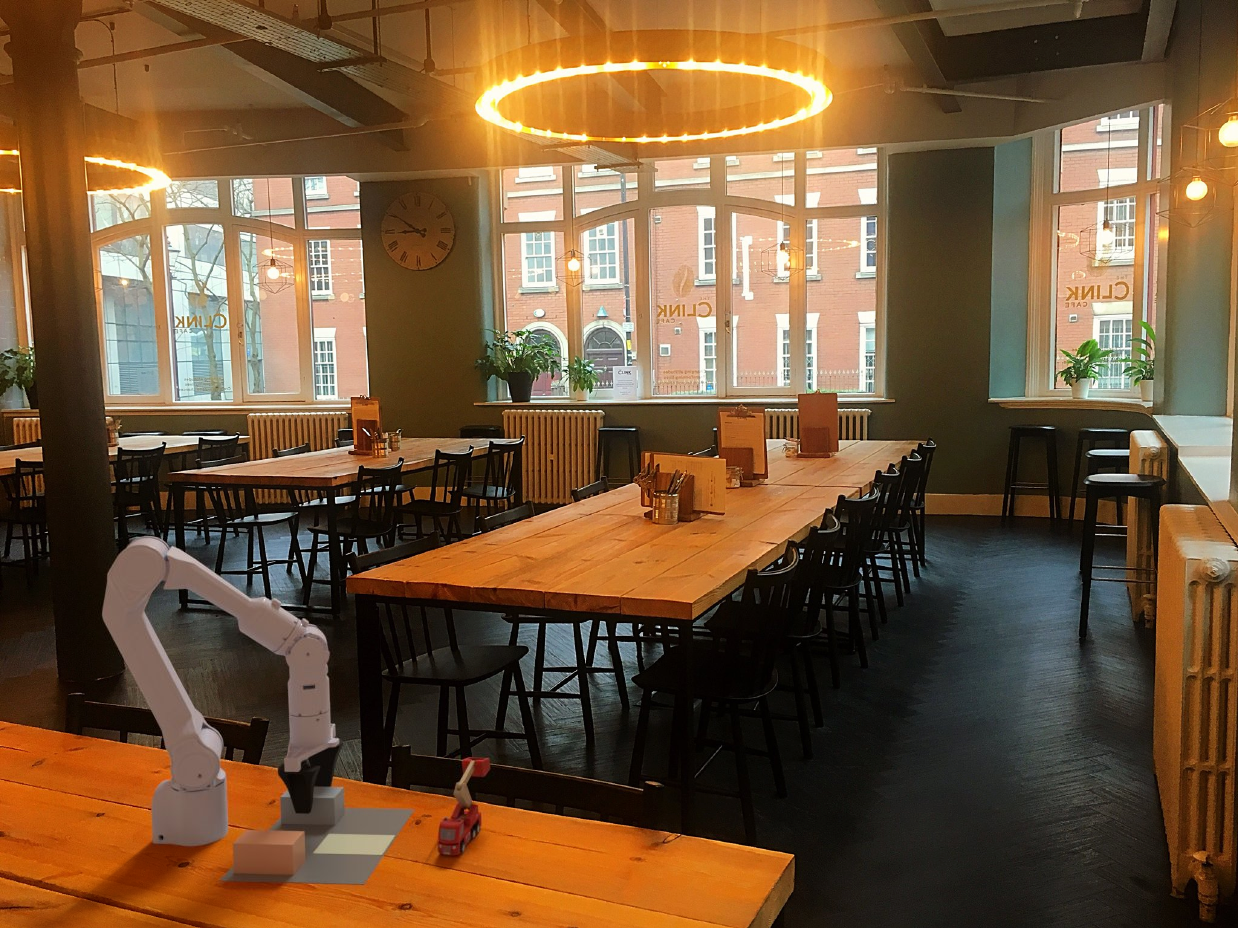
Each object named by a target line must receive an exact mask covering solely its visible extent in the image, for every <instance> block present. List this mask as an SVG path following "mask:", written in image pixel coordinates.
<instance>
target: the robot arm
mask: <svg viewBox="0 0 1238 928" xmlns="http://www.w3.org/2000/svg"><path fill="white" fill-rule="evenodd" d="M106 580H107V581H106V587H105V594H104V599H103V605H102V613H101V616H102V620H103V622H104V624H105V626H106V628H107V630H108V631H109V633H110V635H111V638H112V640H113V641H114V643H115V645H116V646H117V648H118V650H119V652H120V654H121V656H122V658H123V660H124V662H125V663H126V666H127V668H128V669H129V671H130V673H131V675H132V677H133V679H134V680H135V683H136V685H137V686H138V688H139V690H140V692H141V694H142V696H143V697H144V699H145V701H146V703H147V705H148V707H149V709H150V710H151V713H152V714H153V716H154V718H155V720H156V722H157V724H158V726H159V728H160V731H161V732H162V737H163V741H164V747H165V750H166V751H167V754H168V756H169V758H170V759H169V760H170V775H171V779H166V780H163V781H161V782H160V783H159V784H158V785H157V786H156V788H155V789H154V792H153V796H152V800H151V807H150V808H151V810H150V812H151V813H150V814H151V827H152V828H151V831H152V832H151V833H152V835H151V836H152V844H159V845H160V844H161V845H162V844H164V845H169V844H170V845H178V846H181V847H182V846H183V847H195V846H203V845H204V846H205V845H208V844H211V843H215V842H217V841H219V840H221V839H223V838H224V837H225V836H226V835H227V834H228V833H229V816H228V815H229V814H228V812H229V811H228V794H227V793H228V792H227V791H228V790H227V774H226V773H227V772H225V770H223V768H221V756H222V753H223V750H224V739H223V737H222V735H221V734H220V732H219V731H218V730H217V729H216V728H215V727H212V726H211V725H210V724H208V723H207V721H206V720H205V717H204V716H203V714H202V713H201V712H200V711H199V710H198V709H197V708H195V706H194V705H193V702H192V700H191V698H190V696H189V694H188V692H187V691H186V689H185V687H184V685H183V683H182V681H181V679H180V677H179V675H178V674H177V672H176V669H175V668H174V666H173V664H172V662H171V660H170V658H169V657H168V654H167V653H166V651H165V649H164V647H163V644H162V643H161V641H160V639H159V637H158V635H157V634H156V631H155V630H154V627H153V626H152V624H151V622H150V620H149V618H148V616H147V614H146V612H145V611H146V610H145V609H146V606H147V605H148V603H149V600H150V597H151V596H152V593H153V591H154V590H155V589H156V587H158V585H159V584H160V583H161V582H162V581H163V582H165V583H164V586H163V589H162V590H184V589H185V590H189V591H190V592H193V593H194V594H196V595H197V596H200V597H201V599H202V598H203V599H204V600H206V601H208V602H209V603H210V604H213V605H214V606H216V607H217V608H220V610H223V611H225V612H226V613H228V614H230V615H232V616H233V617H235V618H236V619H237V624H238V629H239V631H240V632H241V633H242V634H244V635H246V636H248V637H249V639H250V638H251V639H252V640H254V641H255V642H256V643H258V644H260V645H262V647H265V648H267V649H268V650H269V651H270V652H273V653H274V654H275V655H278V656H284V657H285V661H286V663H287V666H288V667H289V668H288V669H289V679H288V681H287V690H288V691H287V693H288V694H287V695H288V697H287V698H288V718H289V720H288V721H289V722H288V723H289V724H288V725H289V741H288V747H287V755H286V756H285V757H284V758H283V760H284V761H283V763H282V764H280V765H279V766H278V767H277V775H278V776H279V778H280V779H281V780H282V782H283V783H284V785H285V787H286V789H287V790H288V792H289V794H290V797H291V800H292V804H293V807H294V810H295V813H297V814H309V813H310V812H311V810H312V805H313V793H314V787H333V786H332V784H333V779H334V776H335V775H334V773H335V769H336V768H335V767H336V764H337V760H338V757H339V756H340V755H339V754H340V752H341V751H342V748H343V746H344V741H343V740H342V739H340V738H338V737H336V733H337V732H336V724H335V723H331V701H330V700H331V699H330V678H329V676H328V675H327V674H328V673H329V667H328V663H329V659H330V655H331V654H330V653H331V652H330V651H329V647H328V641H327V637H326V635H325V634H324V633H323V631H321V630H320V629H319V628H318V626H317V625H315V624H311V623H309V622H310V621H309V620H307V619H306V618H302V619H300V618H298V617H296V616H295V615H293V614H292V613H290V612H289V611H287V610H285V609H284V608H283V607H281V606H282V601H280V600H278V599H277V598H276V597H273V598H272V600H271V599H269V598H267V597H266V596H261V597H254V598H250V596H248V595H246V594H245V593H244V592H242V591H241V590H239V589H238V588H237V587H235V586H234V585H233V584H231V583H229V582H228V581H227V580H225V578H222V577H221V575H219V574H217V573H215V572H214V571H213V570H211V568H210V569H209V567H207V566H206V565H205V564H203V563H201V562H200V561H198V560H197V559H195V558H194V557H193V556H191V555H189V554H187V553H186V552H184V551H183V550H182V549H180V548H177V547H175V546H173V545H172V546H169V545H168V543H167V542H166V541H164V540H163V539H161V538H160V537H156V536H154V535H153V536H151V535H150V536H149V535H144V536H141V537H140V536H139V537H137V538H136V539H133V540H132V541H130V543H129V544H127V546H126V548H124V549H123V550H122V551H120V553H119V554H118V555H117V557H116V558H115V560H114V562H113V563H112V565H111V567H110V568H109V569H108V572H107V577H106ZM307 760H308V762H309V763H308V762H307ZM162 837H163V838H162Z"/></svg>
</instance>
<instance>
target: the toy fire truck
mask: <svg viewBox="0 0 1238 928" xmlns="http://www.w3.org/2000/svg"><path fill="white" fill-rule="evenodd" d="M461 767H462V774H463V775H462V777H461V779H460V780H459V781H458V782H457V781H456V783H455V788H454V791H453V796H454V798H455V799H456V801H457V803H456V805H455V807H454V810H453V812H452V814H451V815H450V818H448V817H446V816H445V817H444V818H442V819H441V821H440V823H439V826H438V833H437V841H438V842H437V850H438V851H437V852H438V854H442V855H444V856H459V855H460V854H464V853H465V851H466V850H465V849H466V846H467V845H468V843H469V842H470V841H471V840H474V839H475V838H476V835H477V834H479V833H480V828H481V826H482V812H481V811H480V812H479V805H478V804H477V803H474V802H473V800H472V797H471V794H470V791H469V788H468V785H467V784H468V782H469V780H470V778H471V777H478V778H479V777H482V778H484V777H486V776H487V774H488V773H489V771H490V770H491V762H490V758H489V757H472V756H471V757H467V758H466V757H465V758H463V759H462V760H461Z"/></svg>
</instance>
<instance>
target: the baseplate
mask: <svg viewBox="0 0 1238 928" xmlns="http://www.w3.org/2000/svg"><path fill="white" fill-rule="evenodd" d="M344 808H345V814H344V815H343V816H342V817H341V818H340V820H339V821H338V822H337V823H336V824H335V825H312V824H281V817H279V818H278V819H277V821H276V822H274V824H273V825H272V826H270V828H269V829H267V830H268V831H305V859H306V860H305V862H304V863H303V864H302V865H301V867H300V868H299V869H298V870H297V871H296V873H295V874H294V875H282V874H243V873H234V866H233V865H232V867H231V868H229V870H228V871H227V872H226V873H225V874H224V875H223V876H221V878H220V879H219V882H248V883H249V882H250V883H251V882H252V883H255V882H256V883H287V884H324V885H357V886H358V885H360V886H363V885H364V886H365V884H366V883H367V881H368V879H369V878H370V876H371V875H372V874H373V872H374V871H375V869H376V868H377V866H378V865H379V863H380V862H381V860H382V858H383V857H385V854H386V852H388V849H390V847H391V845H392V844H393V842H394V841H395V840H396V838H397V837H398V835H399V834H400V832H401V831H402V829H403V828H404V826H405V825H406V823H407V822H408V820H409V819H410V817H411V816H412V814H413V812H415V808H414V809H413V808H376V807H375V808H372V807H344Z"/></svg>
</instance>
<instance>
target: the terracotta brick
mask: <svg viewBox="0 0 1238 928" xmlns="http://www.w3.org/2000/svg"><path fill="white" fill-rule="evenodd" d="M268 830H269V829H266V830H265V829H264V830H262V829H260V830H259V829H246V830H244V832H242V834H241V835H239V837H238V838H237V839H235V840H234V842H232V861H233V862H232V863H233V864H232V867H233V866H234V873H243V874H282V875H294V874H295V873H296V871H297V870H298V869H299V868H300V867H301V865H302V864H303V863H304V862H305V860H306V859H305V831H268Z"/></svg>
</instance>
